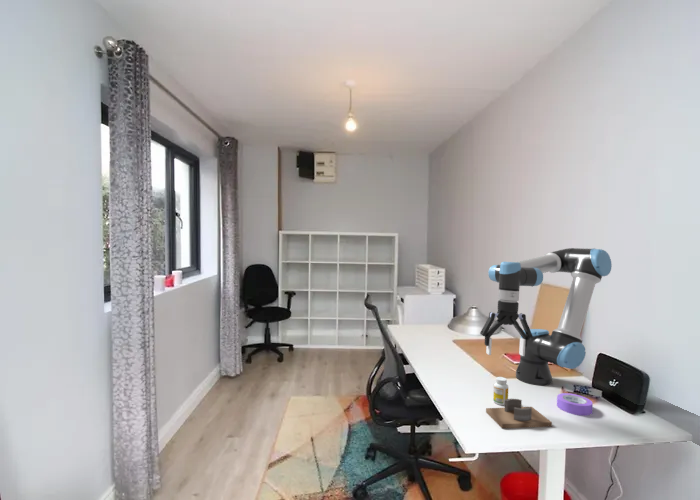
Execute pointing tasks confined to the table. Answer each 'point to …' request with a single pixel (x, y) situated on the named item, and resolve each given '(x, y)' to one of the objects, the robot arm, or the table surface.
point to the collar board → (517, 416)
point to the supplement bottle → (500, 391)
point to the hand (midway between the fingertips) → (505, 354)
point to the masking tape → (574, 404)
